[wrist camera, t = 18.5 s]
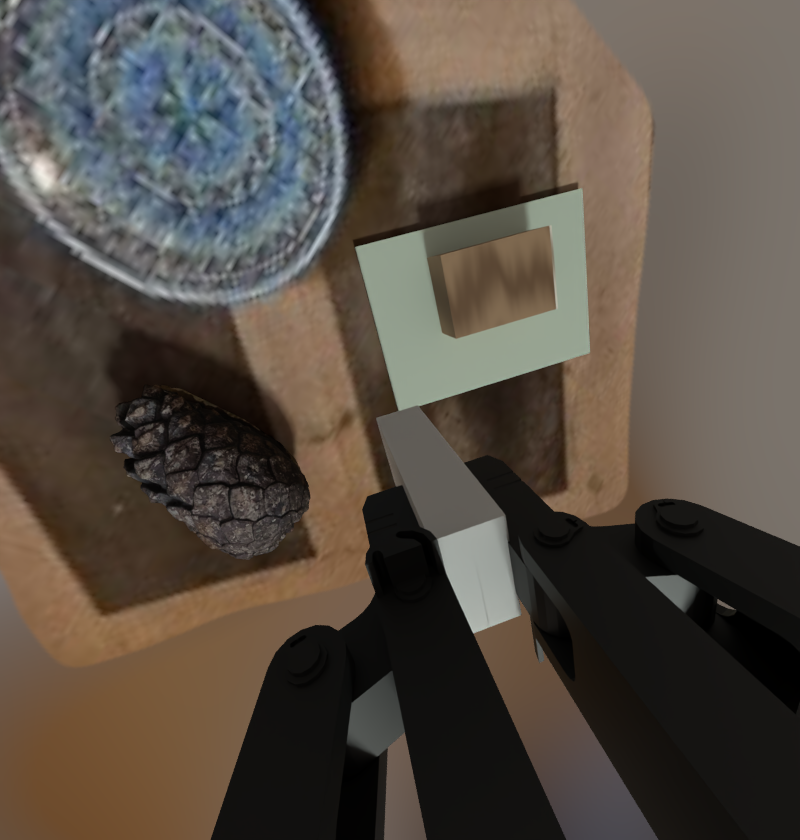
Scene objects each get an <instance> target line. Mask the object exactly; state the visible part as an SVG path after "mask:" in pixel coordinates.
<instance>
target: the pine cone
mask: <svg viewBox="0 0 800 840" xmlns="http://www.w3.org/2000/svg"><path fill="white" fill-rule="evenodd" d="M167 390H169V391H167ZM115 410H116V417H115V419H116V421H117V423H118V424H119V425H120V426H121V427H122V428H123V429H122V430H121V431H120V432H118V433H116V434H113V435H111V436H110V441H111V442H112V443H113V444H114V450H115V451H116V452H118V453H125V454H127V455H128V456H129V457H131V458H130V459H125V461H124V468H125V470H126V472H127V473H126V474H127V476H128V477H132V478H134V479H136V480H138V481H140V482H142V484H141V490H142V491H143V492H144V493H146V494H147V495H148V497H149V500H150V501H151V503H162V504H163V505H165V506H166V508H167V510H168V511H169V512H170V513H171V514H172V515H173V517H174V518H175V519H177V520H180V521H184V523H185V524H186V525H187V527H188V528H189V530H190V531H193V532H194V533H196V534H197V536H198V537H199V538H200V539H201V540H202V541H203V542H204V543H205V544H206V545H208V546H209V547H210V548H212V549H219V550H221V551H223V552H225V553H229V554H230V555H231V556H233V557H235V558H238V559H248V560H249V559H251V558H252V557H253V555H256V556H257V555H261V554H264V553H268V552H271V551H273V550H274V549H276V548H277V547H278V543H279V541H282V540H283V539H284V538H285V537H286V533H290V532H291V531H292V530H293V529H294V522H297V521H299V520H300V519H301V518H302V515H303V513H304V512H306V511H307V510H308V508H309V500H310V492H309V488H308V487H309V485H308V483H307V481H306V478H305V475H304V474H303V473H302V472H301V470H300V469H299V467H298V464H297V462H296V461H295V459H294V458H293V457H292V456H291V455H290V454H289V452H288V451H287V450H286V449H285V448H284V446H283V445H282V444H281V443H279V442H278V441H276V440H275V439H274V438H272V437H270V436H268V435H267V434H265V433H264V432H262V431H261V430H260V429H258V428H257V427H255V426H254V425H252V424H251V423H249V422H248V421H246V420H244V419H243V418H241V417H238V416H236V415H234V414H232V413H230V412H228V411H226V410H224V409H222V408H220V407H218V406H216V405H214V404H212V403H210V402H208V401H205V400H203V399H201V398H199V397H197V396H195V395H193V394H191V393H189V392H187V391H185V390H183V389H180V388H172V389H171V388H170V387H169V386H165V385H160V386H158V385H157V384H156V385H153V386H150V385H146V384H145V386H144V390H143V394H142V397H141V398H138V399H135V400H133V401H129V402H124V403H119V404H118V405H117V406H116V407H115Z"/></svg>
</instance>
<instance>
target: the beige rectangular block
mask: <svg viewBox="0 0 800 840" xmlns="http://www.w3.org/2000/svg"><path fill="white" fill-rule="evenodd" d="M427 261H428V266H429V271H430V276H431V281H432V286H433V291H434V296H435V300H436V305H437V310H438V315H439V320H440V325H441V330H442V333H443V334H446V335H448V336H450V337H453V338H455V339H457V338H461V337H464V336H467V335H471V334H474V333H477V332H481V331H484V330H488V329H491V328H494V327H498V326H501V325H504V324H508V323H511V322H514V321H518V320H521V319H524V318H528V317H531V316H535V315H538V314H541V313H545V312H548V311H551V310H555V309H558V300H557V288H556V275H555V262H554V250H553V237H552V225H550V226H545V227H541V228H536V229H532V230H528V231H524V232H520V233H517V234H513V235H509V236H505V237H502V238H498V239H494V240H491V241H487V242H483V243H480V244H476V245H472V246H469V247H465V248H461V249H458V250H454V251H450V252H447V253H443V254H439V255H436V256H432V257H428V258H427Z"/></svg>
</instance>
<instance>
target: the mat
mask: <svg viewBox="0 0 800 840" xmlns="http://www.w3.org/2000/svg"><path fill="white" fill-rule="evenodd" d="M550 225H552V237H553V250H554V262H555V275H556V288H557V300H558V309H555V310H551V311H548V312H545V313H541V314H538V315H535V316H531V317H528V318H524V319H521V320H518V321H514V322H511V323H508V324H504V325H501V326H498V327H494V328H491V329H488V330H484V331H481V332H477V333H474V334H471V335H467V336H464V337H461V338H457V339H455V338H453V337H450V336H448V335H446V334H443V333H442V330H441V325H440V320H439V315H438V310H437V305H436V300H435V296H434V291H433V286H432V281H431V276H430V271H429V266H428V261H427V258H428V257H432V256H436V255H439V254H443V253H447V252H450V251H454V250H458V249H461V248H465V247H469V246H472V245H476V244H480V243H483V242H487V241H491V240H494V239H498V238H502V237H505V236H509V235H513V234H517V233H520V232H524V231H528V230H532V229H536V228H541V227H545V226H550ZM355 250H356V254H357V258H358V261H359V265H360V269H361V273H362V276H363V280H364V284H365V288H366V292H367V295H368V299H369V303H370V307H371V310H372V314H373V318H374V322H375V325H376V329H377V333H378V337H379V341H380V344H381V348H382V352H383V356H384V359H385V363H386V367H387V371H388V374H389V378H390V382H391V386H392V390H393V393H394V397H395V401H396V405H397V408H398V411H401V410H404V409H407V408H410V407H413V406H417V405H418V406H421V405H424V404H428V403H431V402H434V401H437V400H440V399H444V398H447V397H450V396H453V395H456V394H460V393H463V392H466V391H469V390H473V389H476V388H479V387H482V386H485V385H489V384H492V383H495V382H498V381H501V380H505V379H508V378H511V377H514V376H517V375H521V374H524V373H527V372H530V371H533V370H537V369H540V368H543V367H546V366H550V365H553V364H556V363H559V362H562V361H566V360H569V359H572V358H575V357H578V356H582V355H585V354H588V353H590V340H589V319H588V298H587V276H586V255H585V234H584V213H583V192H582V188H581V189H577V190H573V191H569V192H565V193H561V194H558V195H554V196H550V197H546V198H542V199H538V200H534V201H531V202H527V203H523V204H519V205H515V206H511V207H508V208H504V209H500V210H496V211H492V212H488V213H484V214H481V215H477V216H473V217H469V218H465V219H461V220H458V221H454V222H450V223H446V224H442V225H438V226H434V227H431V228H427V229H423V230H419V231H415V232H411V233H407V234H404V235H400V236H396V237H392V238H388V239H384V240H381V241H377V242H373V243H369V244H365V245H361V246H357V247H355Z"/></svg>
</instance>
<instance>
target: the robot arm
mask: <svg viewBox="0 0 800 840" xmlns="http://www.w3.org/2000/svg"><path fill="white" fill-rule="evenodd" d="M376 420H377V423H378V427H379V430H380V433H381V437H382V440H383V444H384V447H385V451H386V454H387V457H388V461H389V464H390V468H391V471H392V475H393V478H394V481H395V485H396V487H394V488H391V489H388V490H385V491H382V492H379V493H376V494H373V495H370V496H367V499H366V501H365V504H364V506H363V509H362V511H363V515H364V520H365V524H366V530H367V534H368V539H369V544H370V548H369V550H368V551H367V553H366V561H365V565H366V568H367V571H368V574H369V576H370V579H371V582H372V584H373V587H374V590H375V595H374V597H373V599H372V601H371V603H370V604H369V605H368V607H367V608H366V609H365V610H364V612H363V613H361V614H360V615H359V616H358V617H357V618H356V619H354V620H353V621H352V622H350V623H349V624H347V625H346V626H345V627H343V628H342V629H340V630H339V631H337V630H336V629H334V628H332V627H330V626H324V625H315V626H312V627H309V628H306V629H303V630H300V631H299V632H298V633H296V634H295V635H293V636H292V637H290V638H289V639H287V640H286V642H285V643H284V644H283V645H282V646H281V647H280V648H279V650H278V651H277V652H276V653H275V655H274V657H273V659H272V661H271V663H270V665H269V667H268V670H267V672H266V676H265V678H264V681H263V684H262V687H261V690H260V693H259V697H258V700H257V702H256V705H255V708H254V711H253V715H252V717H251V720H250V723H249V726H248V729H247V732H246V735H245V738H244V741H243V744H242V747H241V750H240V753H239V756H238V759H237V762H236V765H235V768H234V772H233V774H232V777H231V780H230V783H229V786H228V789H227V792H226V795H225V798H224V801H223V804H222V807H221V810H220V813H219V816H218V819H217V822H216V825H215V828H214V831H213V834H212V837H211V840H384V823H385V800H386V775H387V750H388V747H389V746H390V745H391V744H392V743H393V742H394V741H395V740H397V739H398V738H399V737H400V736H401V735H402V734H403V733H404V732H405V735H406V740H407V744H408V749H409V754H410V759H411V764H412V769H413V774H414V779H415V784H416V789H417V794H418V799H419V803H420V808H421V812H422V818H423V823H424V828H425V833H426V838H427V840H566V838H565V836H564V834H563V832H562V829H561V827H560V825H559V823H558V821H557V818H556V816H555V814H554V812H553V809H552V807H551V805H550V803H549V801H548V798H547V796H546V794H545V792H544V789H543V787H542V785H541V783H540V781H539V779H538V776H537V774H536V772H535V770H534V767H533V765H532V763H531V761H530V759H529V756H528V754H527V752H526V750H525V747H524V745H523V743H522V741H521V739H520V736H519V734H518V732H517V730H516V727H515V725H514V723H513V721H512V718H511V716H510V714H509V712H508V710H507V707H506V705H505V703H504V701H503V698H502V696H501V694H500V692H499V690H498V688H497V686H496V683H495V681H494V679H493V676H492V674H491V672H490V670H489V667H488V665H487V663H486V661H485V659H484V656H483V654H482V652H481V650H480V647H479V645H478V643H477V641H476V639H475V636H474V634H473V633H475V632H477V631H481V630H483V629H486V628H488V627H491V626H494V625H496V624H499V623H501V622H504V621H507V620H509V619H512V618H515V617H517V616H520V615H521V609H520V603H519V599H520V600H521V602H522V604H523V605H524V607H525V608H526V610H527V611H528V613H529V615H530V619H531V626H532V632H533V639H534V646H535V652H536V655H537V658H538V660H539V662H542V661H544V656H543V651H544V652H545V654H546V656H547V658H548V659H549V661H550V662H551V664H552V665H553V667H554V669H555V671H556V672H557V674H558V675H559V677H560V679H561V680H562V682H563V684H564V685H565V687H566V689H567V690H568V692H569V693H570V695H571V697H572V698H573V700H574V702H575V703H576V705H577V707H578V708H579V710H580V712H581V713H582V715H583V717H584V718H585V720H586V721H587V723H588V725H589V726H590V728H591V730H592V731H593V733H594V734H595V736H596V738H597V739H598V741H599V743H600V744H601V746H602V748H603V749H604V751H605V752H606V754H607V756H608V757H609V759H610V761H611V762H612V764H613V766H614V767H615V769H616V771H617V772H618V774H619V776H620V777H621V779H622V780H623V782H624V784H625V785H626V787H627V789H628V790H629V792H630V794H631V795H632V797H633V798H634V800H635V802H636V803H637V805H638V807H639V808H640V810H641V812H642V813H643V815H644V817H645V818H646V820H647V822H648V823H649V825H650V826H651V828H652V830H653V831H654V833H655V835H656V836H657V838H658V839H659V840H800V546H797V545H795V544H792V543H790V542H787V541H785V540H783V539H780V538H778V537H776V536H773V535H771V534H768V533H766V532H763V531H761V530H759V529H756V528H754V527H752V526H749V525H747V524H744V523H742V522H740V521H737V520H735V519H733V518H730V517H728V516H725V515H723V514H721V513H718V512H716V511H713V510H711V509H709V508H706V507H704V506H701V505H698V504H695V503H692V502H688V501H685V500H676V499H660V500H652V501H650V502H647V503H645V504H643V505H641V506H640V507H639V509H638V510H637V511H636V513H635V514H636V515H635V524H625V525H614V526H601V527H600V526H599V527H591V526H589V525H588V524H587V523H586V522H584V521H582V520H581V519H579V518H578V517H576V516H574V515H571V514H567V513H564V512H554V511H553V510H552V509H551V508H550V507H549V506H548V505H547V504H546V503H545V502H544V501H543V500H542V499H541V498H540V497H539V496H538V495H537V494H536V493H535V492H534V491H533V490H532V489H531V488H530V487H529V486H528V485H526V484H525V483H524V482H523V481H521V479H520V478H519V477H518V476H517V475H516V474H515V473H513V471H512V470H511V469H510V468H509V467H508V466H507V465H506V464H505V463H504V462H503V461H501V460H498V459H496V458H493V457H491V456H488V455H486V456H483V457H480V458H477V459H474V460H471V461H468V462H465V463H463V461H462V460H461V459H460V458H459V456H458V455H457V454H456V453H455V451H454V450H453V449H452V448H451V446H450V445H449V444H448V443H447V441H446V440H445V439H444V438H443V436H442V435H441V434H440V433H439V431H438V430H437V429H436V428H435V426H434V425H433V424H432V423H431V421H430V420H429V419H428V418H427V416H426V415H425V414H424V413H423V412H422V410H421V409H420V408H419V407H418V405H417V406H413V407H410V408H407V409H404V410H401V411H397V412H394V413H391V414H388V415H384V416H381V417H378V418H376ZM717 599H719V600H721V601H722V602H724V603H726V604H728V605H729V606H731V607H733V608H734V609H736V610H732V609H728V608H725V607H723V606H721V605H719V604H717Z"/></svg>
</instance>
